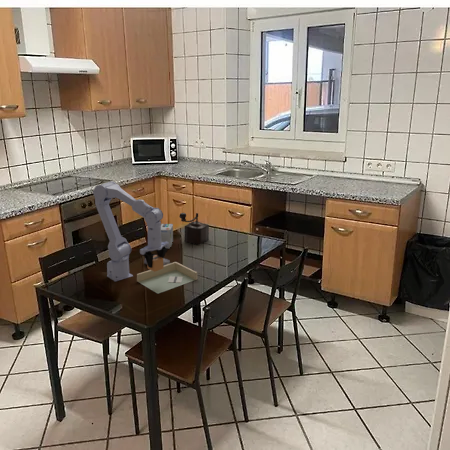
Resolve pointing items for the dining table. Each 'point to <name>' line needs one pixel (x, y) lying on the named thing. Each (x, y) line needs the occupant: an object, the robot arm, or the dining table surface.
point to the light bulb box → (167, 233)
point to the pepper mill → (195, 230)
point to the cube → (156, 263)
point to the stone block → (165, 261)
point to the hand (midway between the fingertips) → (155, 265)
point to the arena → (167, 277)
